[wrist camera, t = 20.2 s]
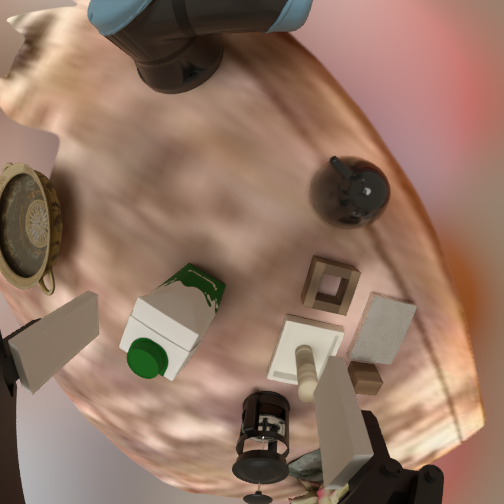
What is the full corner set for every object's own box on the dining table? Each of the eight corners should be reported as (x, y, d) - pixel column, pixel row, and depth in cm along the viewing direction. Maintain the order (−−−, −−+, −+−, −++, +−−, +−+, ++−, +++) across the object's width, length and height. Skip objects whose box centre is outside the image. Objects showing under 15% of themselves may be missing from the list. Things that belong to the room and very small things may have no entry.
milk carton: (165, 298, 46) (105, 355, 27) (187, 254, 44) (125, 294, 25) (209, 324, 46) (169, 397, 27) (233, 282, 44) (202, 343, 25)
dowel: (298, 342, 45) (302, 385, 33) (314, 346, 45) (323, 388, 33) (292, 357, 45) (295, 401, 34) (308, 360, 45) (315, 404, 34)
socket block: (313, 255, 42) (316, 261, 39) (354, 266, 42) (361, 272, 38) (300, 296, 44) (303, 306, 40) (340, 306, 44) (346, 315, 40)
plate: (369, 290, 43) (374, 295, 41) (411, 301, 43) (417, 306, 40) (345, 351, 46) (348, 358, 43) (386, 357, 45) (390, 364, 43)
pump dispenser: (332, 146, 39) (360, 120, 24) (382, 189, 39) (430, 187, 25) (293, 197, 41) (302, 195, 26) (344, 239, 42) (378, 260, 27)
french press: (296, 418, 49) (300, 509, 26) (254, 428, 50) (243, 515, 28) (277, 379, 47) (273, 479, 25) (231, 391, 49) (207, 485, 26)
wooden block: (351, 361, 45) (358, 379, 40) (374, 364, 45) (383, 382, 39) (345, 373, 46) (351, 393, 40) (367, 376, 46) (376, 395, 40)
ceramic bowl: (108, 258, 46) (75, 272, 36) (48, 304, 50) (20, 319, 40) (57, 131, 42) (24, 124, 32) (6, 195, 46) (-23, 197, 36)
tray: (286, 314, 45) (286, 320, 42) (341, 326, 44) (344, 332, 42) (267, 370, 47) (266, 378, 45) (318, 380, 47) (320, 388, 44)
